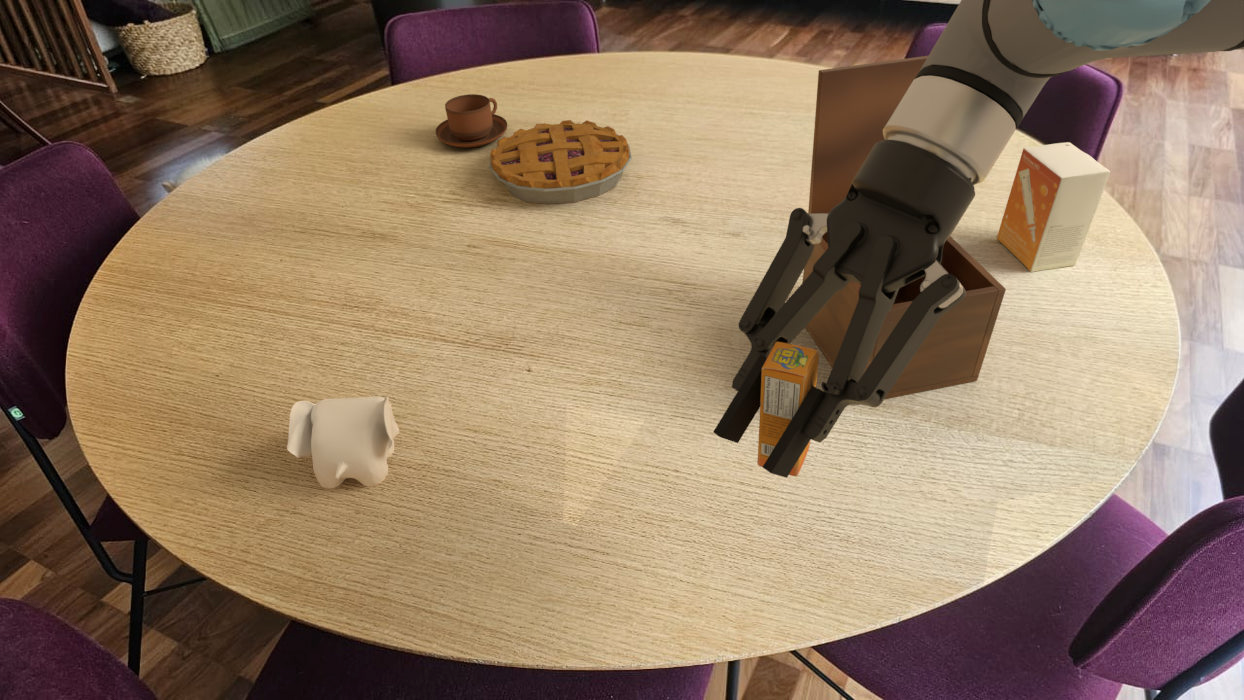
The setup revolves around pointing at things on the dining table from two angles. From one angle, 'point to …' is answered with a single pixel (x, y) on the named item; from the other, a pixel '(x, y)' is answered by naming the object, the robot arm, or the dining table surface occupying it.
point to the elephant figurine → (344, 438)
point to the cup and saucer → (471, 122)
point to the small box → (1052, 205)
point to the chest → (949, 344)
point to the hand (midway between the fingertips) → (750, 454)
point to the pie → (560, 162)
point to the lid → (852, 122)
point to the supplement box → (784, 394)
